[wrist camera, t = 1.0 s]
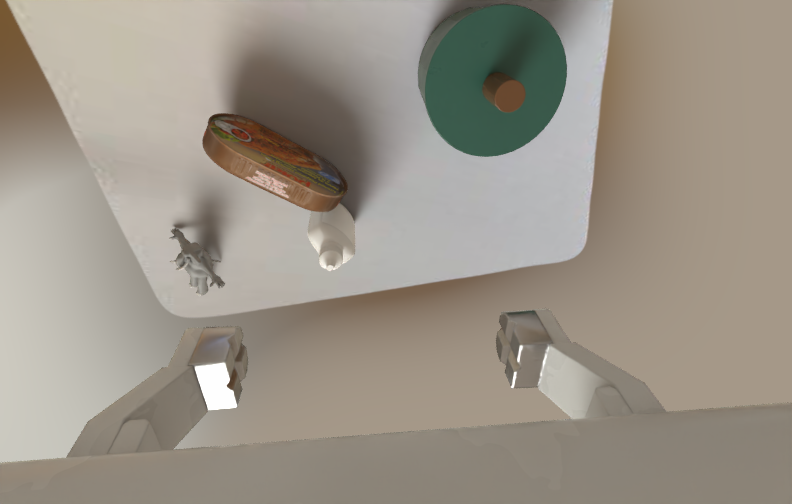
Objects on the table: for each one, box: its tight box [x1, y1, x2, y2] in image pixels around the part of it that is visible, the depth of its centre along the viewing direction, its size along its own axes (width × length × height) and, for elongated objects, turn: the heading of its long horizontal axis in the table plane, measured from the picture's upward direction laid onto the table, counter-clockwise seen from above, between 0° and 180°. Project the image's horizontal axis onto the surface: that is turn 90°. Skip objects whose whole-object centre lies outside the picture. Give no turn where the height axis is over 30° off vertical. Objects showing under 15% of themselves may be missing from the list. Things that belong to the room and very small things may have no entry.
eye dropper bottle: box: [308, 203, 355, 271], centre depth 48 cm, size 4×6×12 cm
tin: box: [203, 113, 348, 212], centre depth 45 cm, size 15×3×8 cm, turn 58°
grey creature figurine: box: [170, 229, 225, 296], centre depth 52 cm, size 10×6×9 cm
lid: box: [424, 4, 567, 157], centre depth 38 cm, size 13×13×5 cm
